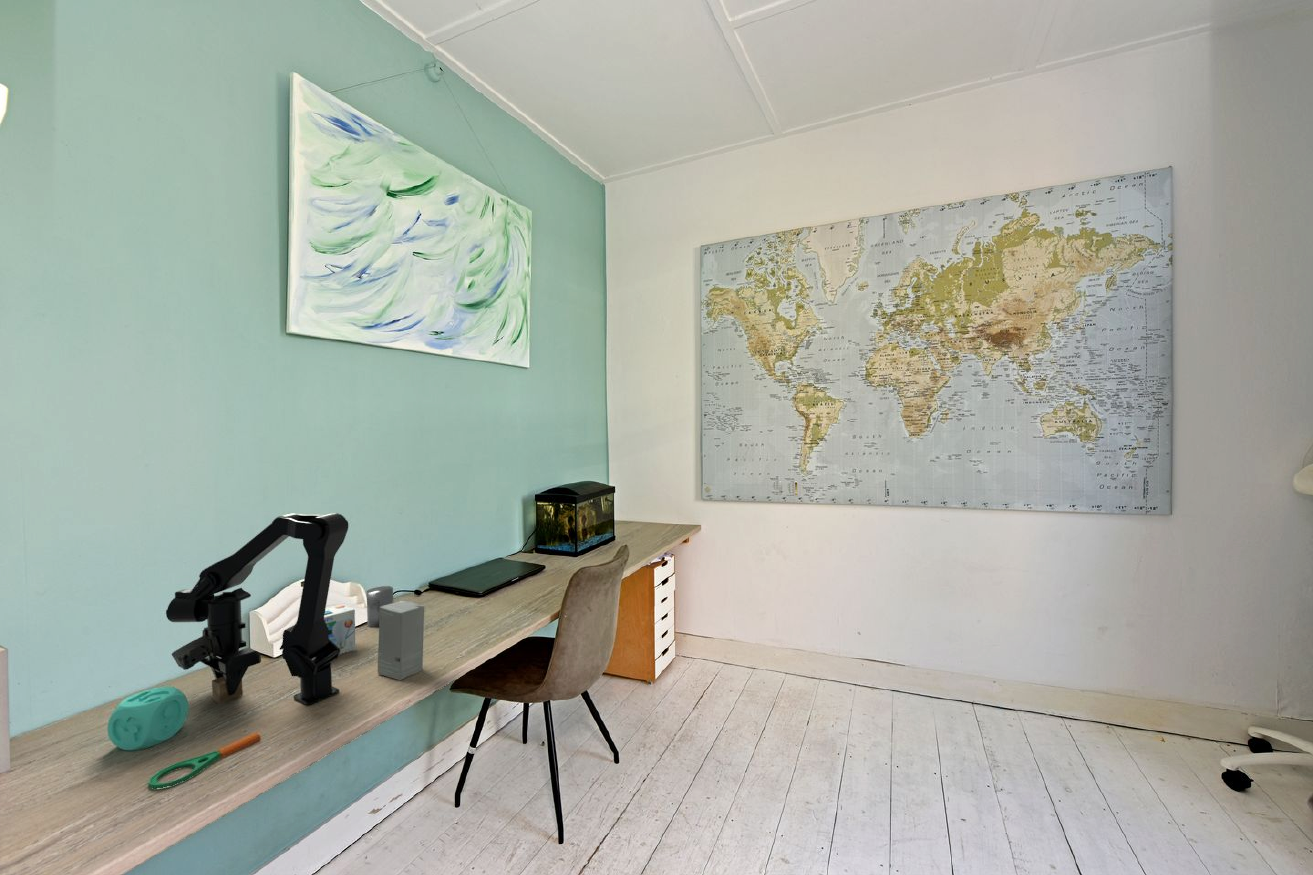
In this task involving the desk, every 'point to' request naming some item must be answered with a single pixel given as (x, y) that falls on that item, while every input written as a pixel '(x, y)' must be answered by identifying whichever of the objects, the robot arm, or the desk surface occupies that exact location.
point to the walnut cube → (223, 690)
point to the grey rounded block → (377, 603)
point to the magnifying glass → (201, 761)
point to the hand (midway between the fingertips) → (227, 691)
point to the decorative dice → (148, 718)
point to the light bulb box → (341, 627)
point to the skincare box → (400, 639)
